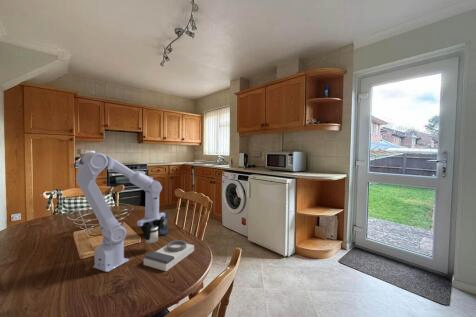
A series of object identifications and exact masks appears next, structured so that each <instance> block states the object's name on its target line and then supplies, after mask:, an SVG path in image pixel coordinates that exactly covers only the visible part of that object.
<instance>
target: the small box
mask: <svg viewBox="0 0 476 317" xmlns="http://www.w3.org/2000/svg"><path fill="white" fill-rule="evenodd" d="M164 213H165V217H162V219H164V222H163V224H162V226H161V229H160V233H159V235H158V237H159V236H161V237H162V236H168V233H169V212H164ZM149 224H150V225H153V221H152V222H149Z"/></svg>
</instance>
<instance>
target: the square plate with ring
mask: <svg viewBox="0 0 476 317" xmlns="http://www.w3.org/2000/svg"><path fill="white" fill-rule="evenodd" d="M194 251H195V245H194V244H191V243H188V242H186V241H185V240H181V239H178V240H177V239H176V240H172V241H169V242H167V244H166V245H164V246H163V247H161V248H159V249H158V250H155V251H154V250H152V251H150V252H148V253H147V254H145V255H144V258H143V266H147V267H151V268H153V269H158V270H160V271H164V272H167V271H169V270H170V269H171V268H172V267H174V266H175V265H177V264H179V262H181V261H182V260H184V259H185V258H186V257H188V256H189V255H191V254H192V253H193V252H194Z"/></svg>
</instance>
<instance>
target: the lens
mask: <svg viewBox="0 0 476 317" xmlns="http://www.w3.org/2000/svg"><path fill="white" fill-rule="evenodd" d="M158 241H159V236H158V226H156V225H152V227H151V231H150V239H149V240H145V242H146V243H147V244H152V243H153V244H154V243H156V242H158Z"/></svg>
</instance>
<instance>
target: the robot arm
mask: <svg viewBox="0 0 476 317" xmlns="http://www.w3.org/2000/svg"><path fill="white" fill-rule="evenodd" d="M77 166H78V167H77V173H76V176H75V177H76V179H75V180H76V183H77V185H78V187H79V189H80V190H81V192H82V194H83V196H84V198H85V199H86V201H87V202H88V205H89V206H90V208H91V210H92V211H93V214H94V215H95V217H96V218H97V220H98V222H99V223H98V225H99V226H100V234H101V235H102V236H103V238H102V242H101V244H99V246H97V247H96V248H95V250H94V252H93V253H94V255H93V256H94V265H93V266H92V268H94V269H97V270H100V271H103V272H105V273H108V272H110V271H112V270H114V269H116V268H117V267H120V266H121V265H123V264H125V263H127V262H128V261H130V259H129V258H127V257H125V239H126V235H127V229H126V227H124V226H122V225H121V224H120V223H119V221H118V220H117V218H116V217H115V216H114V214H113V212H112V210H111V209H110V206H109V204H108V203H107V201H106V199H105V197H104V196H103V194H102V192H101V190H100V188H99V186H98V184H97V183H96V180H97V178H98V176H99V174H100V173H101V172H102V171H104V170H112V171H114V172H116V173H117V174H120V175H122V176H124V177H126V178H128V180H129V183H130V184H132V185H134V186H136V187H138V188H140V189H141V190H143V191H144V192H145V198H144V199H145V201H144V202H145V205H144V206H145V207H144V211H145V212H144V217H142V218H141V219H139V220H137V223H136V224H137V226H138V227H139V228H140V230H141V232H142V235H143V237H144V240H145V241H146V240H149V239H150V231H151V227H152V225H150V224H149V222H152V221H153V225H156V226H158V235H159V233H160V229H161V226H162V224H163V222H164V219H162V217H165V213H166V212H160V195H161V194H160V193H161V192H162V190H163V186H162V184H161V182H160V181H158V180H154V177H153V176H148V175H147V174H145V171H144V170H132V169H130V168H129V167H128V166H126V165H124V164H123V163H122V162H120V161H118V160H117V159H115V158H114V157H113V158H112V157H111V156H109V155H105V154H104V153H102V152H94V151H89V152H85V153H84V154H82V156H81V157H80V159H79V160H78V162H77Z"/></svg>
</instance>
